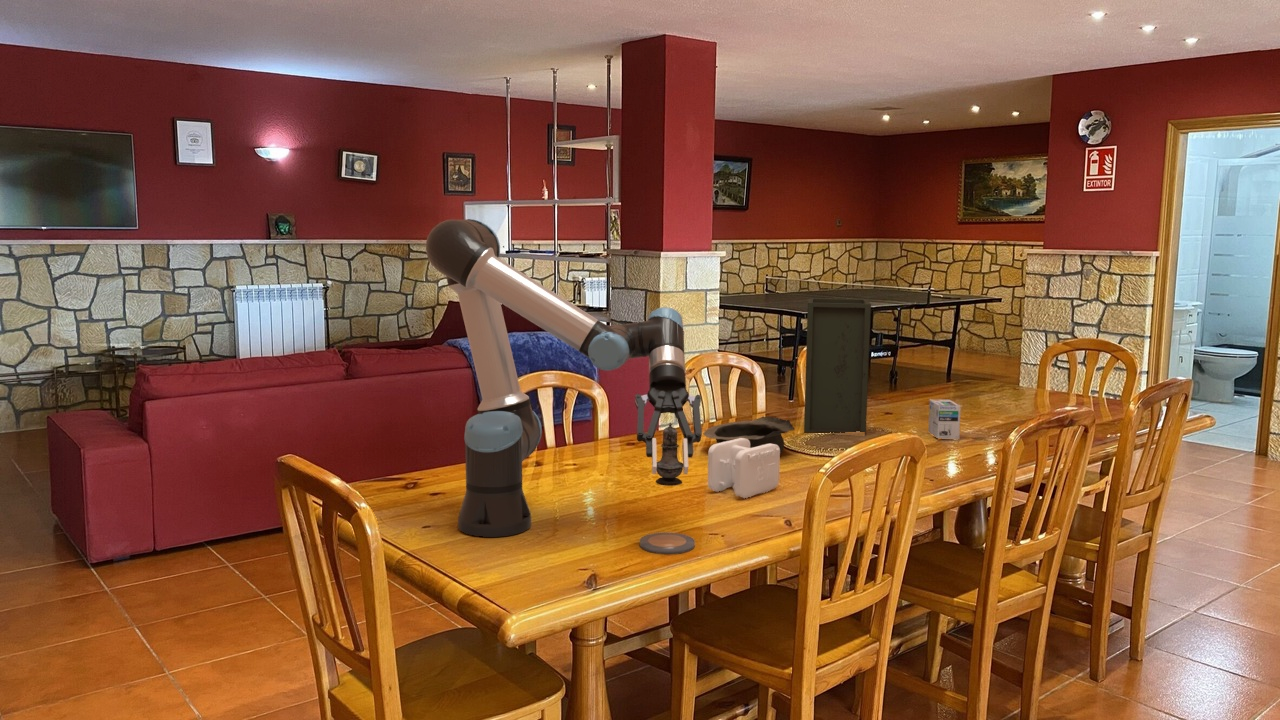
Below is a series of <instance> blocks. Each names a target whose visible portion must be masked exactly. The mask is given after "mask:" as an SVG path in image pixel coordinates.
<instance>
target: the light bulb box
mask: <svg viewBox="0 0 1280 720" xmlns="http://www.w3.org/2000/svg"><path fill="white" fill-rule="evenodd" d="M928 405H929V406H928V407H929V409H928V429H927V431H929V432H930V433H931V434H933V435H934V436H935V437H936V438H942V439H959V440H960V436H961V435H960V434H961V433H960V432H961V430H960V428H961V411H962V410H961V409H962V406H961V405H960V404H958V403H956V402H955V401H953V400H951V399H940V398H939V399H935V398H934V399H933V398H929V404H928Z"/></svg>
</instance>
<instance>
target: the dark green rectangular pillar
mask: <svg viewBox="0 0 1280 720" xmlns="http://www.w3.org/2000/svg"><path fill="white" fill-rule="evenodd" d="M871 310H872V304H871V302H870V301H869V299H856V298H855V299H852V298H850V299H849V298H848V299H847V298H845V299H844V298H808V299H807V316H806V317H807V318H806V319H807V320H806V348H805V350H806V352H805V353H806V354H805V355H806V357H805V358H806V359H805V381H804V382H805V387H804V414H803V415H804V418H803V419H804V420H803V421H804V422H803V434H804V433H830V432H831V433H833V432H834V433H840V432H841V433H845V432H856V431H860V432H866V433H867V415H868V414H867V412H868V390H869V389H868V387H869V368H870V367H869V361H870V335H871V313H872V312H871Z"/></svg>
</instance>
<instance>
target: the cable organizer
mask: <svg viewBox="0 0 1280 720" xmlns="http://www.w3.org/2000/svg"><path fill="white" fill-rule="evenodd" d="M780 456H781V453H780V448H779V446H778V445H775V444H770V443H769V444H765V445H761V446H757V447H753V448H750V441H749V440H748V439H745V438H738V439H734V440H730V441H726V442H721V443H717V442H716V443H714V444H711V446H710V447H709V449H708V451H707V487H708V488H709V490H712V491H714V492H715V493H719V491H720V492H722V491H725V490H726V489H727V488H728V489H729V488H731V487H732V489H733V492H734V495H736V496H737V497H740V498H741V499H744V500H746V499H749V498H748V497H750V498H752V497H751V496H753V497H754V496H755V495H759V494H762V493H763V494H766V493H769V492H771V490H774V489H776V488H777V487H778V485H779V481H780V458H781V457H780ZM768 491H769V492H768ZM765 492H766V493H765ZM745 498H746V499H745Z"/></svg>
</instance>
